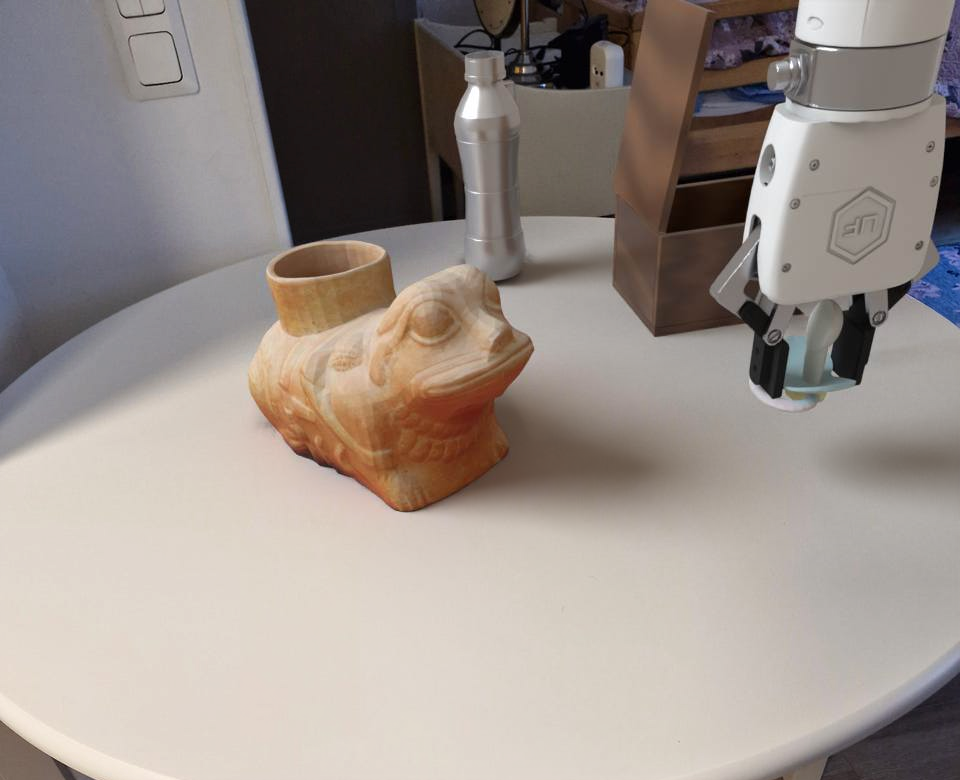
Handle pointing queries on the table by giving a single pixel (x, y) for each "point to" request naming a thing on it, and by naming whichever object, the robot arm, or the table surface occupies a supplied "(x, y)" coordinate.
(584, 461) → the table surface
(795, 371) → the pacifier
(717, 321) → the chest
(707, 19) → the lid
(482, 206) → the silver bottle
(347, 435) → the ceramic vessel
